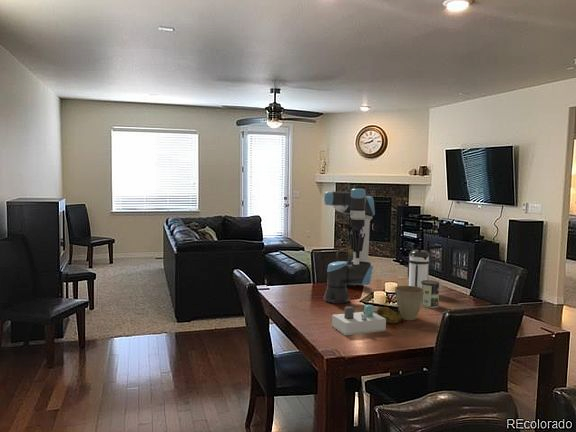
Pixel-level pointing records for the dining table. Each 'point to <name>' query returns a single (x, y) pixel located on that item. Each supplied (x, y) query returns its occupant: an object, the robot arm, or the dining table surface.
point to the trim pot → (364, 316)
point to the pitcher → (350, 256)
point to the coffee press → (418, 267)
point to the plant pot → (409, 301)
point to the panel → (358, 324)
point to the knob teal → (369, 310)
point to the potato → (389, 315)
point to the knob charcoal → (349, 313)
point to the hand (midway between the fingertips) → (356, 264)
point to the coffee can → (430, 293)
